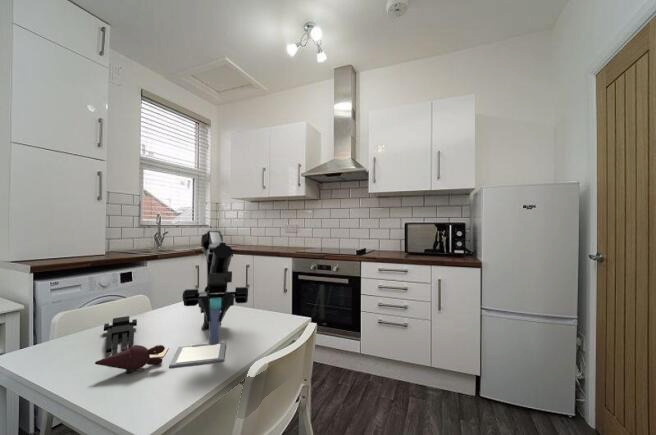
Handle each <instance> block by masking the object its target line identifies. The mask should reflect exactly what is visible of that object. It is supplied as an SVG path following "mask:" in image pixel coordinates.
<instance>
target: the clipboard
mask: <svg viewBox="0 0 656 435" xmlns="http://www.w3.org/2000/svg"><path fill="white" fill-rule="evenodd" d="M226 346H227V345H226V342H219V343H218V344H216V345H209V344H208V341H206V342H195V343H194V342H193V343H192V344H191V345H185V346H178V348H177V349H176V351H175V353H174V355H173V357H172V359H171V361H170V363H169V365H168V368H176V367H179V368H180V367H186V366H194V365H204V364H211V363H220V362H224V359H225V352H226Z"/></svg>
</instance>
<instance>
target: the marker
mask: <svg viewBox="0 0 656 435" xmlns="http://www.w3.org/2000/svg"><path fill="white" fill-rule="evenodd" d="M221 299H222V298H220V297H215V298H211V299H210V318H209V329H208V341H207V342H208V344H209V345H216V344H218V343H220V332H221V325H220V314H221Z"/></svg>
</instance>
